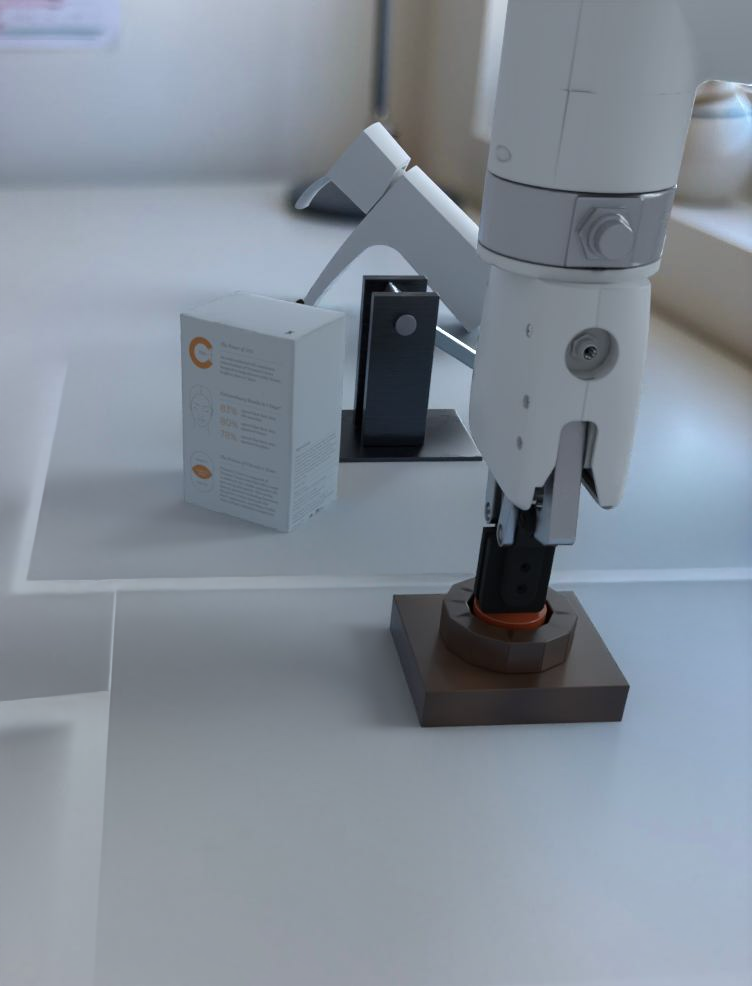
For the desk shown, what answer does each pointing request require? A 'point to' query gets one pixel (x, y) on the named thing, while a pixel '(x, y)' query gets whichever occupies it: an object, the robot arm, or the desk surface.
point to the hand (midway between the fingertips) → (507, 604)
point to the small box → (262, 407)
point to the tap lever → (446, 340)
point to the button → (511, 618)
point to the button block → (504, 663)
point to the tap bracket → (399, 381)
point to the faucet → (404, 224)
